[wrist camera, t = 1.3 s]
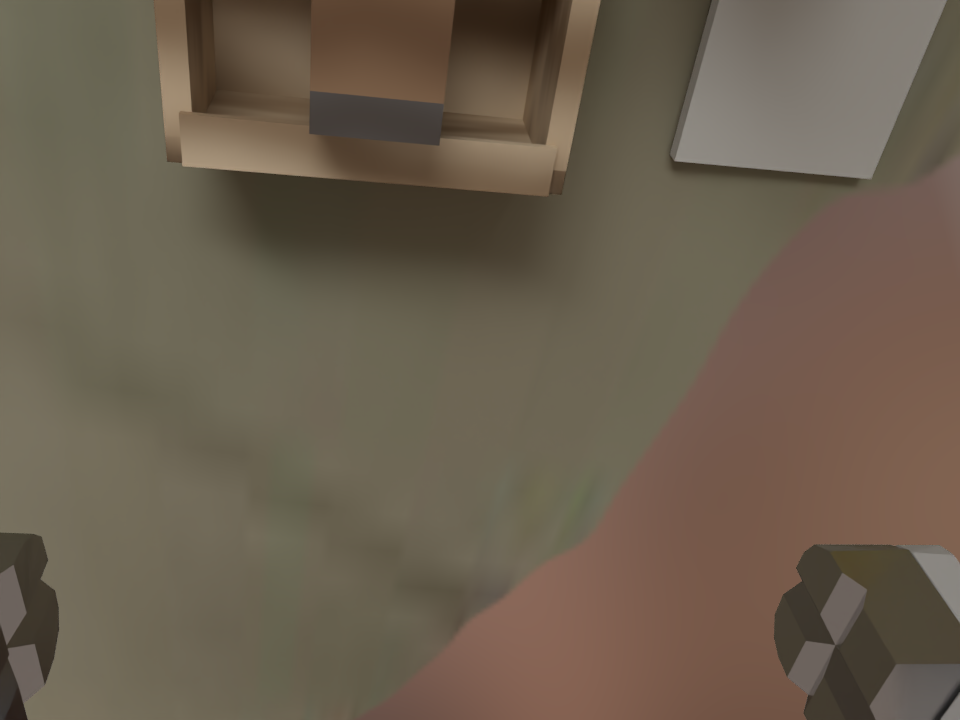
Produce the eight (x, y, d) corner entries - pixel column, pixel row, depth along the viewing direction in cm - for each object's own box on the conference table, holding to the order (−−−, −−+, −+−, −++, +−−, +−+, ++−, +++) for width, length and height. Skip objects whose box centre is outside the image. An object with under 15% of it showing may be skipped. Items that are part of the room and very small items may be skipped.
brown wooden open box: (175, -216, 30) (133, -208, 25) (590, -154, 32) (630, -134, 27) (195, 105, 37) (165, 164, 32) (538, 138, 39) (562, 197, 34)
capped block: (326, -112, 32) (312, -75, 25) (445, -96, 33) (461, -56, 26) (322, 63, 36) (309, 133, 29) (428, 74, 36) (439, 146, 30)
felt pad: (749, -136, 33) (756, -134, 33) (977, -102, 35) (988, -99, 34) (669, 154, 40) (674, 161, 39) (863, 172, 42) (871, 179, 41)
